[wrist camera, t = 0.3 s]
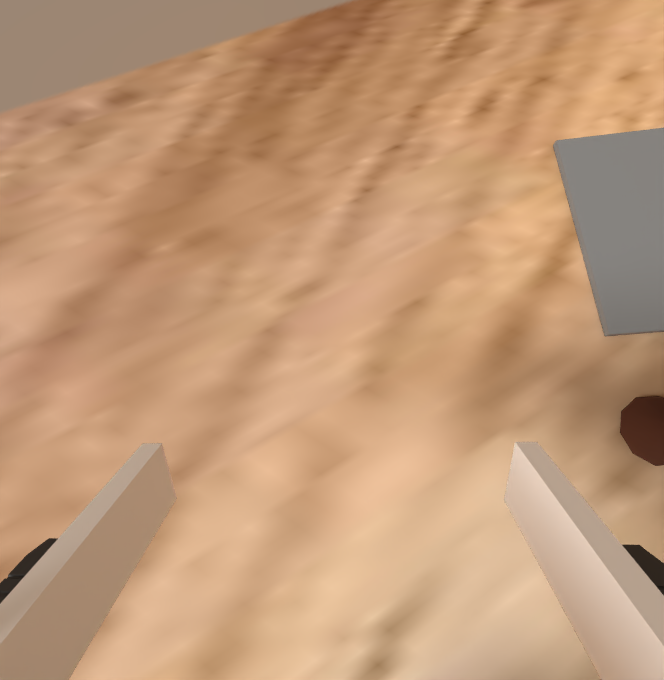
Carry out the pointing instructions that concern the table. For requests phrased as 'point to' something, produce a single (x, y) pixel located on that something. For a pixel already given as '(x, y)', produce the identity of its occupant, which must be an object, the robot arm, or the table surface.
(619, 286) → the grey mat
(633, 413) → the ice cream bowl
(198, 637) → the table surface
